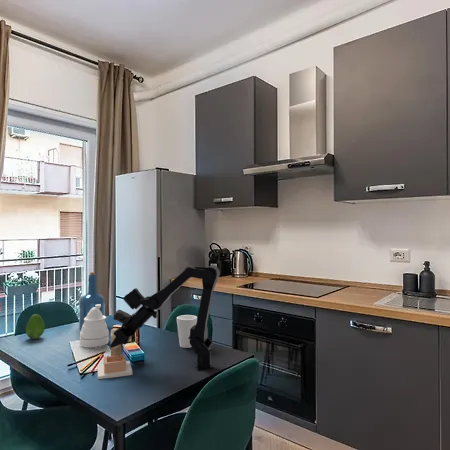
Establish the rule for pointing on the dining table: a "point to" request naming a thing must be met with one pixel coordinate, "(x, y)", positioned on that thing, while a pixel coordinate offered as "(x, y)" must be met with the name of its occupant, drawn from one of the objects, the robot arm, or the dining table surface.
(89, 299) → the wine bottle
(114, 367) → the tan box on base
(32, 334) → the fruit
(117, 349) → the tan wooden cylinder
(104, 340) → the honey pot
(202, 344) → the robot arm
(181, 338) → the foam cup
